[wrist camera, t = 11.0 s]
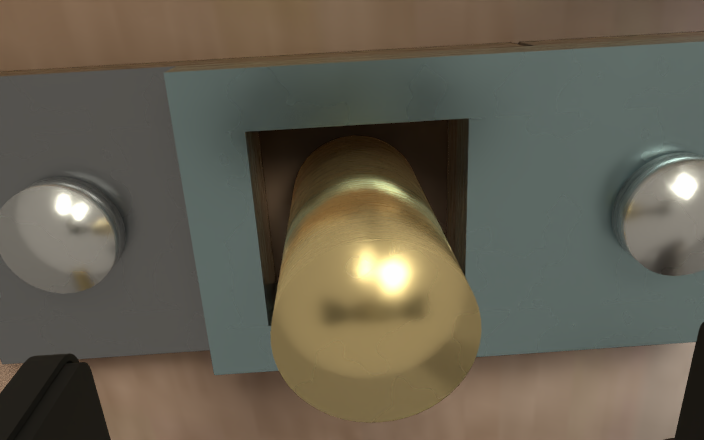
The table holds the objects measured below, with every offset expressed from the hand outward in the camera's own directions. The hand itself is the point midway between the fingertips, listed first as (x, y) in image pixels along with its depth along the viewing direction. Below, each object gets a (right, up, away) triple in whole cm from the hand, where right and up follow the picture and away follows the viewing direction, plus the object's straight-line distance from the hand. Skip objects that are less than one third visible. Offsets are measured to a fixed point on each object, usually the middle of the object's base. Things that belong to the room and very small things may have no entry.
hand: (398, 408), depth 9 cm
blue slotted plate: (+3, +4, +11) cm, 13 cm away
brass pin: (-1, +4, +11) cm, 12 cm away
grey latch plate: (-4, +3, +11) cm, 13 cm away
